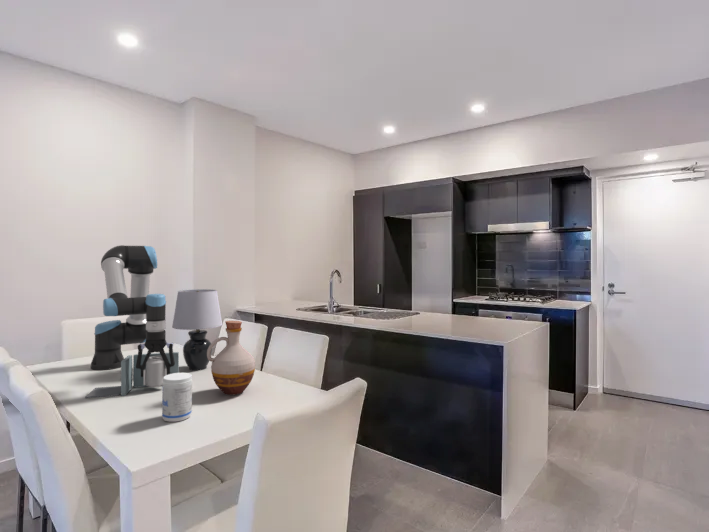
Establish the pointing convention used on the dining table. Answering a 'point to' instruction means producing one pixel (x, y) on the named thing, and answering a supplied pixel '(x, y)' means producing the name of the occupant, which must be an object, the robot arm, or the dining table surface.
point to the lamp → (197, 323)
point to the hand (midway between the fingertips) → (155, 383)
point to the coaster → (104, 392)
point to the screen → (137, 379)
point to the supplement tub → (177, 397)
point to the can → (155, 371)
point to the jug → (232, 362)
